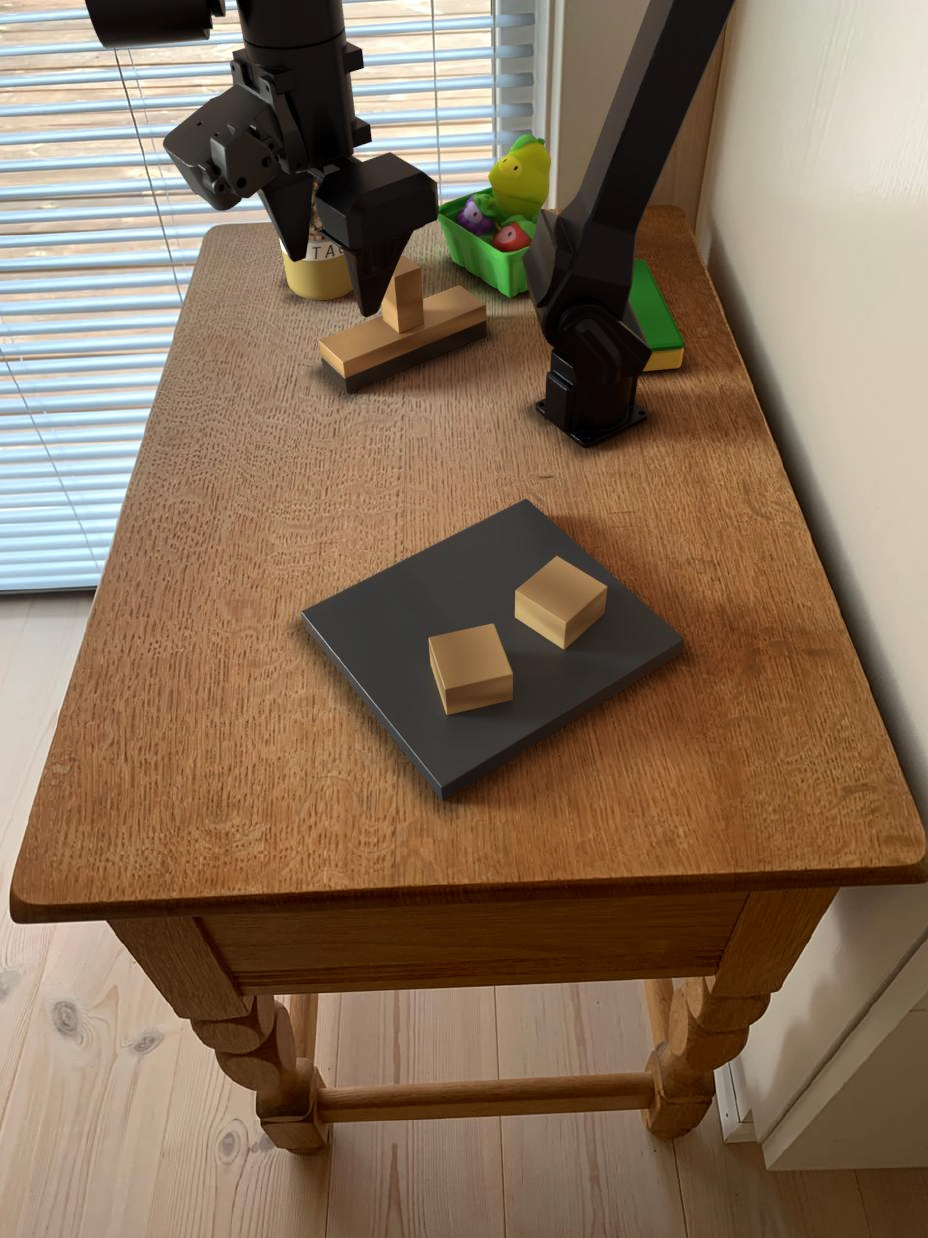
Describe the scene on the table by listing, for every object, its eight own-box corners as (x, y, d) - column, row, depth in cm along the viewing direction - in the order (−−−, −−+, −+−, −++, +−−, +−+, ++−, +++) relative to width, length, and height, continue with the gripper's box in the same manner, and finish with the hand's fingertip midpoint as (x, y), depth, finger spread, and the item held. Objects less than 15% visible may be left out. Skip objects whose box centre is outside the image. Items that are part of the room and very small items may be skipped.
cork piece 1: (494, 649, 60) (493, 622, 58) (513, 700, 57) (513, 673, 56) (430, 663, 59) (428, 637, 58) (446, 716, 57) (444, 689, 55)
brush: (460, 315, 87) (457, 228, 81) (486, 335, 85) (485, 248, 79) (323, 371, 82) (309, 283, 76) (347, 394, 80) (334, 305, 74)
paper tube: (282, 272, 93) (227, -34, 74) (352, 259, 94) (316, -45, 75) (295, 309, 89) (241, -6, 70) (369, 295, 90) (335, -18, 71)
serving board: (525, 513, 70) (526, 497, 69) (681, 654, 61) (685, 638, 60) (303, 626, 64) (300, 611, 63) (442, 802, 55) (441, 787, 54)
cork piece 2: (555, 582, 64) (557, 555, 62) (604, 613, 62) (608, 586, 60) (514, 617, 62) (515, 590, 60) (564, 650, 60) (566, 623, 58)
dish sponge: (597, 377, 81) (599, 351, 79) (565, 288, 90) (566, 263, 88) (682, 369, 81) (686, 343, 79) (641, 281, 90) (644, 257, 88)
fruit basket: (432, 259, 94) (425, 137, 85) (505, 230, 97) (505, 110, 89) (506, 309, 88) (507, 184, 79) (582, 276, 91) (590, 152, 83)
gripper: (92, 22, 57) (164, 272, 69) (245, 124, 47) (299, 396, 58) (261, -22, 61) (302, 220, 73) (436, 62, 51) (450, 328, 63)
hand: (332, 286), depth 67 cm, fingers open, 9 cm apart
